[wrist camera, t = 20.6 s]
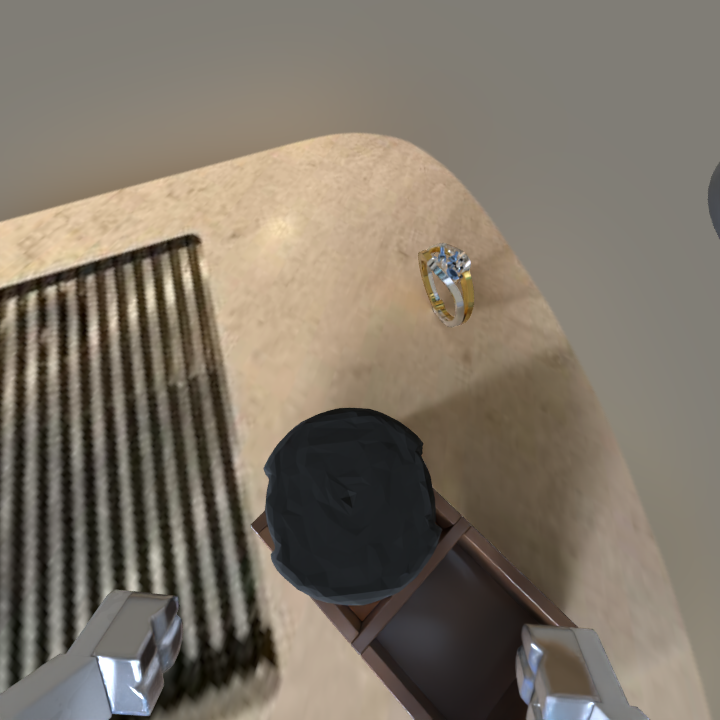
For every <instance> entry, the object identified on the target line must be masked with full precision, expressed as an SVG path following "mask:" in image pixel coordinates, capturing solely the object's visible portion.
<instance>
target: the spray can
mask: <svg viewBox="0 0 720 720" xmlns="http://www.w3.org/2000/svg"><path fill="white" fill-rule="evenodd" d="M422 446H423V442H422V441H421V440H420V438H419V437H418V436H417V435H416V434H415V433H413V432H412V431H411V430H410V429H409V428H407V427H406V426H405V425H404V424H402V423H401V422H399V421H397V420H395V419H393V418H391V417H389V416H387V415H385V414H383V413H381V412H378V411H374V410H371V409H363V408H339V409H334V410H330V411H326V412H323V413H320V414H318V415H315V416H313V417H311V418H309V419H307V420H305V421H303V422H301V423H300V424H298V425H297V426H296V427H294V428H293V429H292V430H291V431H290V432H289V433H288V434H287V435H286V436H285V437H284V438H283V439H282V440H281V441H280V442H279V443H278V445H277V446H276V448H275V449H274V450H273V452H272V454H271V455H270V457H269V458H268V460H267V462H266V465H265V467H264V471H265V474H266V475H267V476H268V478H269V484H268V489H267V494H266V506H265V513H266V518H267V523H268V528H269V532H270V535H271V537H272V540H273V542H274V545H275V549H274V551H273V552H272V553H271V559H272V562H273V564H274V566H275V567H276V569H277V571H278V572H279V573H280V574H281V575H282V576H283V577H284V578H285V579H286V580H287V581H289V582H290V583H291V584H292V585H293V586H294V587H296V588H297V589H298V590H300V591H302V592H304V593H305V594H307V595H309V596H311V597H312V598H314V599H316V600H320V601H323V602H326V603H333V604H340V605H367V604H370V603H374V602H377V601H379V600H382V599H384V598H387V597H389V596H391V595H394V594H396V593H399V592H400V591H401V590H402V589H403V588H405V587H406V586H407V585H408V584H409V583H410V582H412V581H413V580H414V579H415V578H416V577H417V576H418V575H419V573H420V572H421V571H422V569H423V568H424V567H425V565H426V564H427V563H428V561H429V560H430V558H431V557H432V555H433V553H434V551H435V549H436V547H437V544H438V541H439V538H440V534H441V531H442V528H441V527H439V526H438V525H436V524H435V519H436V506H435V496H434V491H433V487H432V482H431V477H430V474H429V471H428V468H427V466H426V464H425V462H424V460H423V459H422V457H421V455H422V449H423V448H422Z"/></svg>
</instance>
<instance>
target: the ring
mask: <svg viewBox="0 0 720 720" xmlns="http://www.w3.org/2000/svg"><path fill="white" fill-rule="evenodd" d="M436 252H439V255H438V257H435V256H434V254H435V253H436ZM445 254H447V255H449V256H450V257H449V258H448V259H446V255H445ZM457 260H458V263H456V261H457ZM418 261H419V267H420V272H421V276H422V280H423V283H424V286H425V289H426V292H427V295H428V297H429V300H430V302H431V305H432V309H433V312H434V313H435V314H437V316H438V318H439V319H440V320H441V321H442V323H443V324H444V325H446V326H447V327H455V326H459V325H462V324H464V323H466V322H467V321H468V319H469V318H470V316H471V313H472V310H473V305H474V290H473V283H472V279H471V275H470V272H469V269H470V266H471V263H470V259H469V257H468V256H467V254H466V253H464V252H463V251H462V250H460V249H458V248H456V247H454V246H452V245H449V244H446V243H438V244H436V245H433V246H430V247H429V248H428V249H427V250H423V251H421V252H419V253H418ZM461 265H462V266H461ZM439 267H440V268H441V269H442V270H443V271H444V272H443V271H442V270H441V269H440V268H439ZM432 272H433V273H434V274H435V275H436V276H437V277H438V278H439V279H440V280H441V281H442V282H443V283H444V284H445V285H446V287H447V288H448V289H449V291H450V292H451V294H452V296H453V299H454V303H455V317H453V316H451V315H450V314H449V313H448V312H447V311H446V309H445V305H444V303H443V301H442V300H440V298H439V296H438V293H437V291H436V288H435V285H434V281H433V276H432ZM459 282H460V283H461V286H462V291H463V299H462V296H461V294H460V291H459V290H458V288H457V286H456V285H455V283H459Z"/></svg>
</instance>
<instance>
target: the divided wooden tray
mask: <svg viewBox="0 0 720 720" xmlns="http://www.w3.org/2000/svg"><path fill="white" fill-rule="evenodd" d="M433 491H434V496H435V506H436V519H435V524H436V525H438V526H439V527H441V528H442V531H441V534H440V538H439V541H438V544H437V547H436V549H435V551H434V553H433V555H432V557H431V558H430V560H429V561H428V563H427V564H426V565H425V567H424V568H423V569H422V571H421V572H420V573H419V575H418V576H417V577H416V578H415V579H414V580H413V581H412V582H410V583H409V584H408V585H407V586H406V587H405V588H403V589H402V590H401V591H400V592H399V593H396V594H394V595H391V596H389V597H387V598H384V599H382V600H379V601H377V602H374V603H370V604H367V605H340V604H333V603H326V602H323V601H320V600H316V599H314V598H312V597H311V596H310V597H311V599H312V600H313V601H314V602H315V603H316V605H317V606H318V607H319V608H320V609H321V610H322V612H323V613H324V614H325V615H326V616H327V618H328V619H329V620H330V621H331V622H332V623H333V625H334V626H335V627H336V628H337V629H338V631H339V632H340V633H341V634H342V635H343V636H344V638H345V639H346V640H347V641H348V642H349V643H350V644H351V646H352V647H353V648H354V649H355V651H356V652H357V653H358V654H359V655H360V656H361V658H362V659H363V660H364V661H365V663H366V664H367V665H368V666H369V667H370V668H371V670H372V671H373V672H374V673H375V674H376V676H377V677H378V678H379V679H380V680H381V681H382V683H383V684H384V685H385V686H386V687H387V689H388V690H389V691H390V692H391V693H392V694H393V696H394V697H395V698H396V699H397V700H398V702H399V703H400V704H401V705H402V706H403V708H404V709H405V710H406V711H407V712H408V713H409V715H410V716H411V717H412V718H413V719H414V720H526V714H527V710H528V705H527V704H526V703H525V701H524V700H523V699H522V698H521V697H520V693H519V689H518V685H517V678H516V654H517V649H518V648H519V647H520V646H522V645H523V643H522V639H521V635H520V634H521V630H522V627H523V625H524V624H537V625H552V626H567V627H572V628H578V627H577V626H576V625H575V624H574V623H573V622H572V621H571V620H570V619H569V618H568V617H567V616H566V615H565V614H564V613H563V612H562V611H561V610H560V609H559V608H557V607H556V606H555V605H554V604H553V603H552V602H551V601H550V600H549V599H548V598H547V597H546V596H545V595H544V594H543V593H542V592H541V591H540V590H539V589H538V588H537V587H536V586H535V585H534V584H532V583H531V582H530V581H529V580H528V579H527V578H526V577H525V576H524V575H523V574H522V573H521V572H520V571H519V570H518V569H517V568H516V567H515V566H514V565H513V564H512V563H511V562H510V561H508V560H507V559H506V558H505V557H504V556H503V555H502V554H501V553H500V552H499V551H498V550H497V549H496V548H495V547H494V546H493V545H492V544H491V543H490V542H489V541H488V540H487V539H486V538H485V537H483V536H482V535H481V534H480V533H479V532H478V531H477V530H476V529H475V528H474V527H473V526H471V524H470V523H469V522H468V521H467V520H466V519H465V518H464V517H461V516H462V515H461V514H460V513H459V512H458V511H457V510H455V509H454V508H453V507H452V506H451V505H450V504H449V503H448V502H447V501H446V500H445V499H444V498H443V497H442V496H441V495H440V494H439V493H438V492H437V491H436V490H435V489H434V488H433ZM250 526H251V527H252V529H253V530H254V531H255V532H256V533H257V534H258V536H259V537H260V538H261V539H262V541H263V542H264V543H265V544H266V545H267V546H268V548H269V549H270V550H271V551H272V552H273V551H274V549H275V545H274V542H273V540H272V537H271V535H270V532H269V528H268V523H267V518H266V513H265V511H264V512H263V513H262V514H261V515H260V516H259V517H258V518H257V519H256V520H255V521H254V522H253V523H252V524H251V525H250Z"/></svg>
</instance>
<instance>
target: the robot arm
mask: <svg viewBox="0 0 720 720" xmlns="http://www.w3.org/2000/svg"><path fill="white" fill-rule="evenodd" d="M179 607H180V605H179V601H178V596H171V595H162V594H153V593H144V592H135V591H124V590H113V591H112V592H111V593H110V594H108V595H107V596H106V598H105V599H104V601H103V602H102V603H101V605H100V606H99V608H98V609H97V611H96V612H95V613H94V615H93V616H92V618H91V619H90V621H89V622H88V623H87V625H86V626H85V628H84V629H83V631H82V632H81V633H80V635H79V636H78V638H77V639H76V641H75V642H74V643H73V645H72V646H71V648H70V649H69V651H68V652H67V653H66V654H59V655H57V656H56V657H54V658H53V659H51V660H50V661H48V662H47V663H45V664H44V665H42V666H41V667H40V668H38V669H37V670H35V671H34V672H32V673H31V674H29V675H28V676H26V677H25V678H23V679H22V680H20V681H19V682H17V683H16V684H14V685H13V686H11V687H10V688H9V689H7V690H6V691H4V692H3V693H1V694H0V720H108V719H109V718H110V717H111V716H112V714H111V713H113V714H128V715H143V716H150V714H151V712H152V710H153V707H154V705H155V703H156V701H157V699H158V697H159V695H160V692H161V690H162V688H163V686H164V681H163V676H162V674H163V673H164V672H165V671H166V670H167V669H169V668H170V667H171V666H172V665H173V664H174V662H175V660H176V657H177V655H178V653H179V650H180V646H181V642H182V638H183V623H182V620H181V619H180V618H179V617H178V616H177V615H176V613H177V611H178V609H179ZM520 635H521V639H522V643H523V645H522V646H520V647H519V648H518V649H517V654H516V678H517V685H518V689H519V693H520V697H521V698H522V699H523V700H524V701H525V703H526V704H527V705H528V710H527V714H526V720H650V719H649V718H648V717H647V716H646V715H645V714H644V713H643V712H642V711H641V710H640V709H639V708H638V707H636V706H629V703H628V701H627V699H626V697H625V695H624V692H623V690H622V688H621V686H620V683H619V681H618V679H617V677H616V675H615V672H614V670H613V668H612V666H611V664H610V661H609V659H608V657H607V655H606V652H605V650H604V648H603V646H602V644H601V641H600V639H599V637H598V635H597V633H596V632H595V631H594V630H593V629H585V628H572V627H567V626H552V625H537V624H524V625H523V627H522V630H521V634H520Z"/></svg>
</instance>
